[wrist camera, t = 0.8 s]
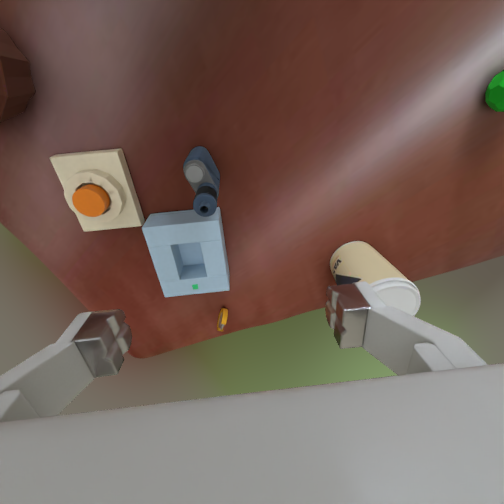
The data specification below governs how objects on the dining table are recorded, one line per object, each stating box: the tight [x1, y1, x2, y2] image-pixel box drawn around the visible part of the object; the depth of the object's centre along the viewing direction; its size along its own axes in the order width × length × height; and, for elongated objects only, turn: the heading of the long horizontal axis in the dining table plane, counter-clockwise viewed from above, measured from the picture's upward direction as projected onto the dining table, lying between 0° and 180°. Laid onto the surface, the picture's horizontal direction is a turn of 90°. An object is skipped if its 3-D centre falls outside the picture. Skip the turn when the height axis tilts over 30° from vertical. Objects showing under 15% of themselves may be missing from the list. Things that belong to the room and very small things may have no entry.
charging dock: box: [142, 207, 230, 297], centre depth 39 cm, size 12×10×5 cm
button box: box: [49, 148, 145, 232], centre depth 34 cm, size 10×8×4 cm
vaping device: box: [183, 146, 220, 217], centre depth 30 cm, size 3×5×12 cm, turn 24°
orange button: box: [72, 184, 110, 217], centre depth 32 cm, size 4×4×2 cm
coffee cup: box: [330, 241, 421, 316], centre depth 40 cm, size 9×9×12 cm
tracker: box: [217, 308, 228, 331], centre depth 47 cm, size 4×1×4 cm, turn 161°
